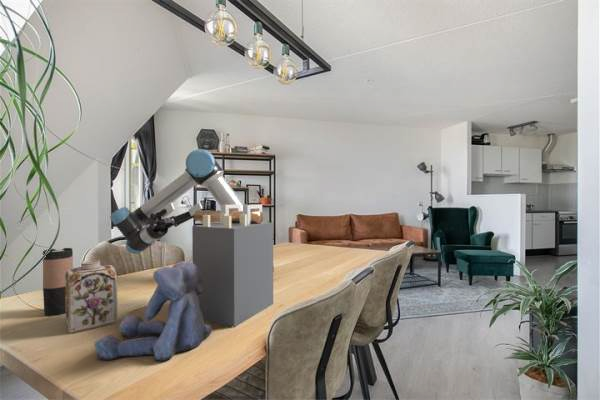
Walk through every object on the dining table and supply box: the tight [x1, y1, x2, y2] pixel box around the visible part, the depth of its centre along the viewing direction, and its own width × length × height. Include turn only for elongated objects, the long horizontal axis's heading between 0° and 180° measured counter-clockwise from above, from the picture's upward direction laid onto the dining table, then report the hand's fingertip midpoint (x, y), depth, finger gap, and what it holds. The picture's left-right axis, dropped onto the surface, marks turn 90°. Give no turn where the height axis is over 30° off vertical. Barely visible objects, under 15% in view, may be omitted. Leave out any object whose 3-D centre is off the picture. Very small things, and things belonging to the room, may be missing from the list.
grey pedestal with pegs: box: [191, 204, 274, 328], centre depth 100 cm, size 21×16×34 cm
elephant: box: [94, 260, 213, 362], centre depth 79 cm, size 21×25×21 cm
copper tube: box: [193, 209, 264, 224], centre depth 107 cm, size 26×4×4 cm
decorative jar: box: [65, 260, 119, 334], centre depth 90 cm, size 12×12×18 cm
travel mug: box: [42, 247, 74, 317], centre depth 99 cm, size 8×8×20 cm
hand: (187, 205), depth 117 cm, fingers open, 13 cm apart
